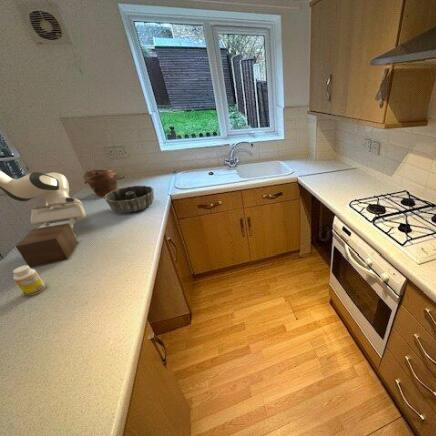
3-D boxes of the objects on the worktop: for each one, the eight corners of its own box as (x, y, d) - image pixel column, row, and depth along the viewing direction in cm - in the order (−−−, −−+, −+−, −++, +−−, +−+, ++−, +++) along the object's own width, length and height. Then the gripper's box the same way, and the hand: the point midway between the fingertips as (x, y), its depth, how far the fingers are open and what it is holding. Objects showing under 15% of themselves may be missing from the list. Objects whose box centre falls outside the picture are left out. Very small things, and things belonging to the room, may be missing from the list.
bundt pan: (165, 204, 156) (161, 190, 151) (122, 220, 136) (115, 204, 132) (144, 196, 169) (140, 182, 164) (102, 209, 150) (96, 194, 145)
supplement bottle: (27, 288, 89) (12, 267, 84) (47, 283, 91) (33, 261, 87) (22, 298, 85) (6, 276, 80) (43, 292, 87) (29, 270, 82)
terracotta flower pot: (94, 191, 178) (84, 168, 170) (125, 187, 185) (117, 164, 176) (86, 200, 163) (75, 175, 155) (120, 195, 170) (111, 171, 162)
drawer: (50, 239, 117) (41, 224, 113) (79, 234, 121) (72, 219, 117) (34, 260, 103) (23, 243, 99) (67, 253, 107) (58, 236, 103)
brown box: (44, 249, 112) (32, 229, 107) (78, 242, 116) (68, 223, 111) (29, 267, 100) (15, 246, 95) (67, 259, 105) (56, 238, 100)
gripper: (26, 205, 113) (27, 232, 109) (80, 197, 120) (82, 223, 117) (35, 210, 119) (37, 236, 115) (86, 202, 126) (88, 227, 123)
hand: (60, 229), depth 116 cm, fingers closed on drawer, 6 cm apart
